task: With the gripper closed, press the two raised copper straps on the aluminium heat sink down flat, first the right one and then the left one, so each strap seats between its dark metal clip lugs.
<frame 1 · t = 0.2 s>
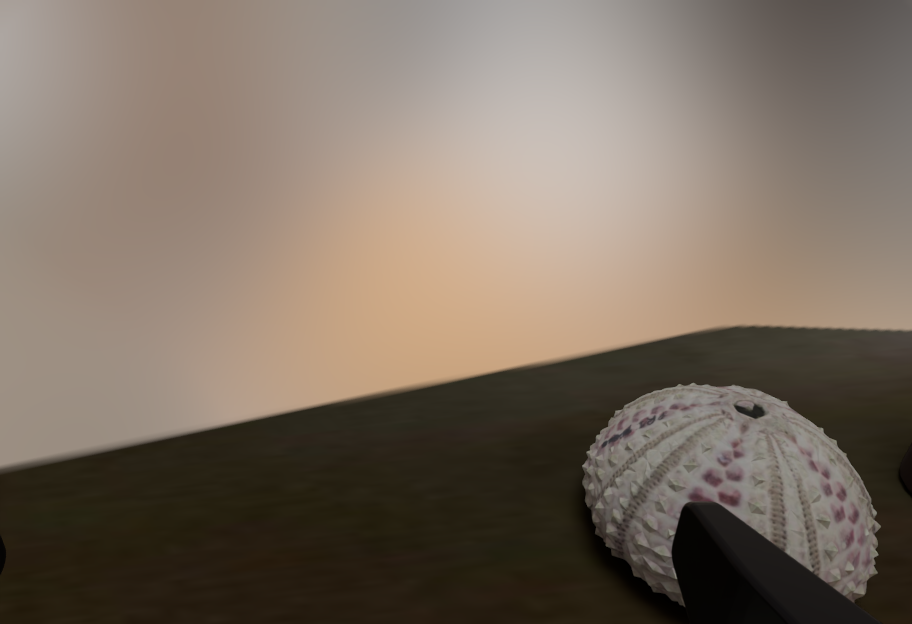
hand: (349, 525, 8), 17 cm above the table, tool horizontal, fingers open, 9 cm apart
sea urchin shell: (701, 537, 31), on the table
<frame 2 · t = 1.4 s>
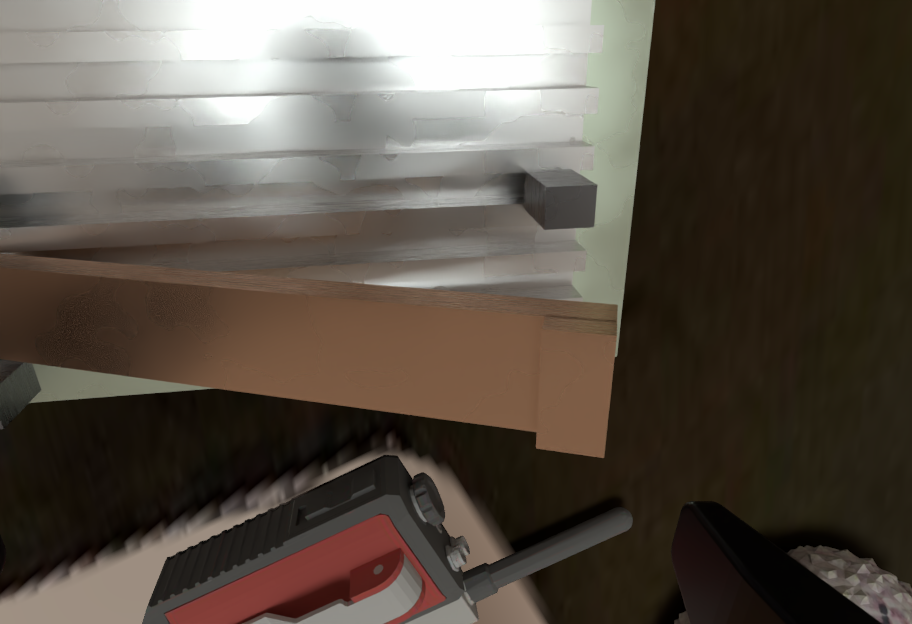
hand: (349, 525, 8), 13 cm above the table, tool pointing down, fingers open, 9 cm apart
heat sink board: (285, 45, 17), on the table
walkie-talkie: (388, 533, 26), on the table
sea urchin shell: (760, 615, 32), on the table
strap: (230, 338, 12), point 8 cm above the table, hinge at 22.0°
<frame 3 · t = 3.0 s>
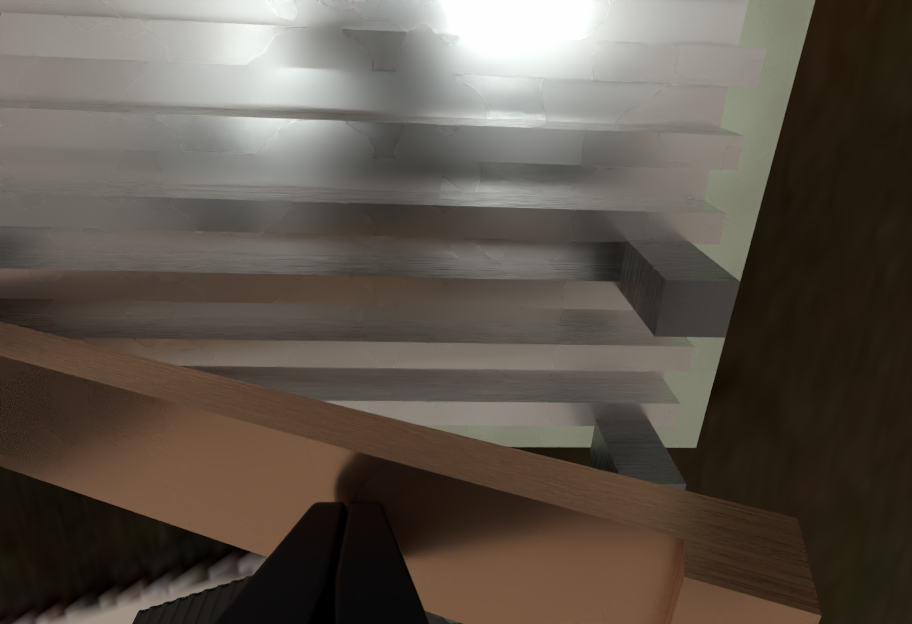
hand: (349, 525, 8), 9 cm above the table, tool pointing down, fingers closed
heat sink board: (321, 42, 14), on the table
walkie-talkie: (395, 609, 23), on the table
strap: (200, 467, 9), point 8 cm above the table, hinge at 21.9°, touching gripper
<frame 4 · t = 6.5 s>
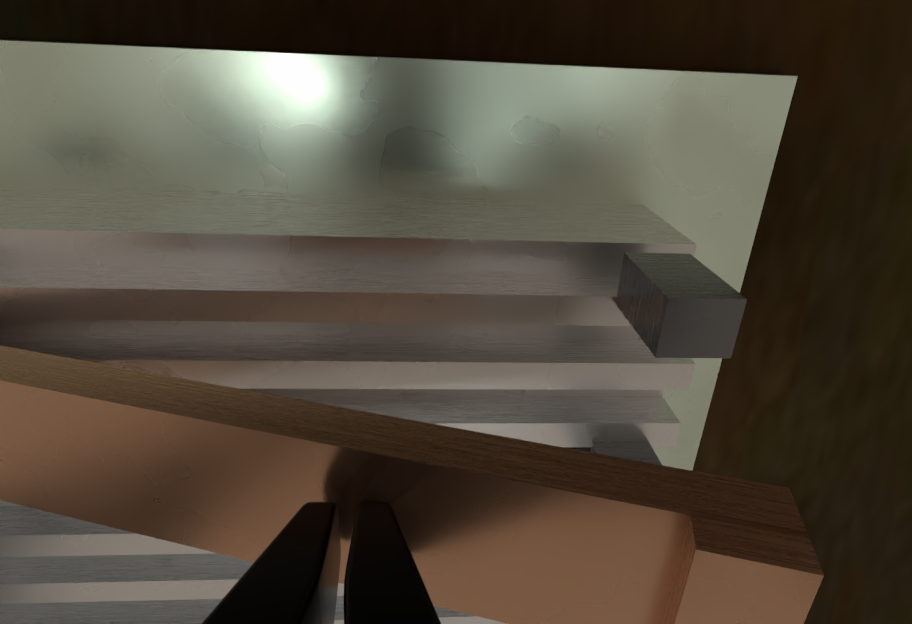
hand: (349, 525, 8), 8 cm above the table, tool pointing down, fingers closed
heat sink board: (326, 456, 18), on the table
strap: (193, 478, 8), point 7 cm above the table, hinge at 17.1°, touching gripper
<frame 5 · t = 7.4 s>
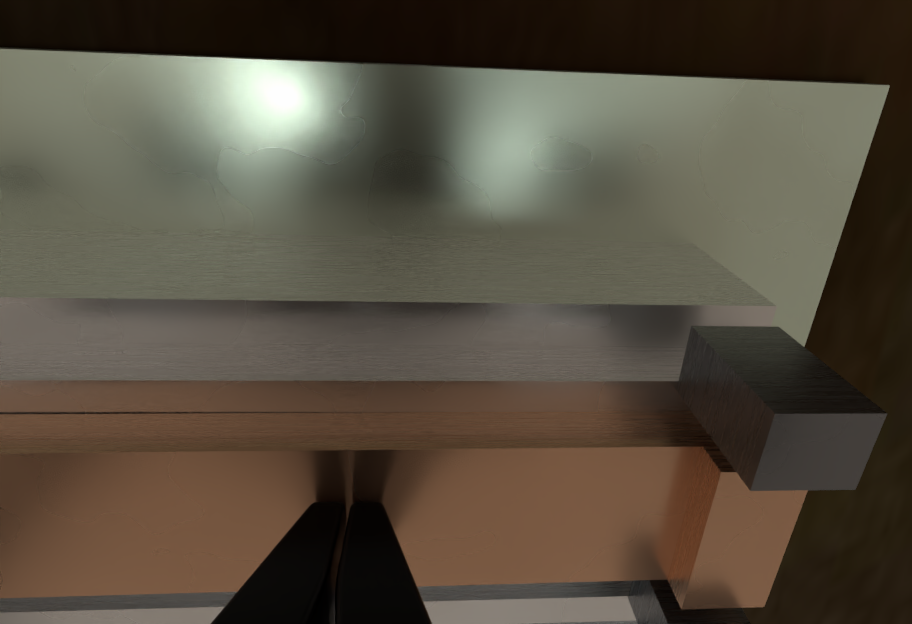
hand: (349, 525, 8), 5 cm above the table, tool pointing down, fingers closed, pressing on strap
heat sink board: (308, 532, 15), on the table
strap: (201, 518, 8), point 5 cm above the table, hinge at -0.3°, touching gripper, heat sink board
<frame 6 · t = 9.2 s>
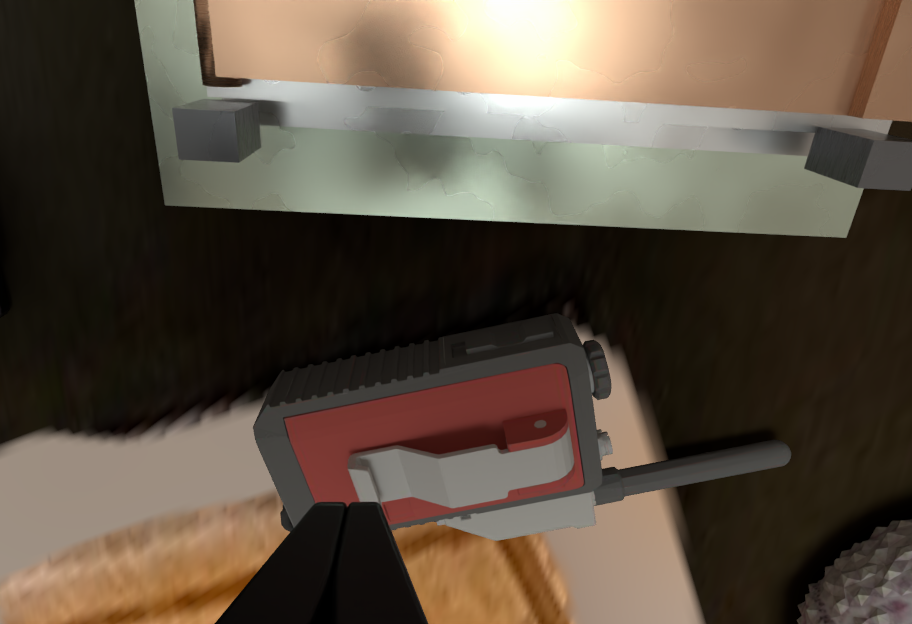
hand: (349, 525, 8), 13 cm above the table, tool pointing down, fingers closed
walkie-talkie: (518, 409, 24), on the table
sea urchin shell: (911, 579, 28), on the table
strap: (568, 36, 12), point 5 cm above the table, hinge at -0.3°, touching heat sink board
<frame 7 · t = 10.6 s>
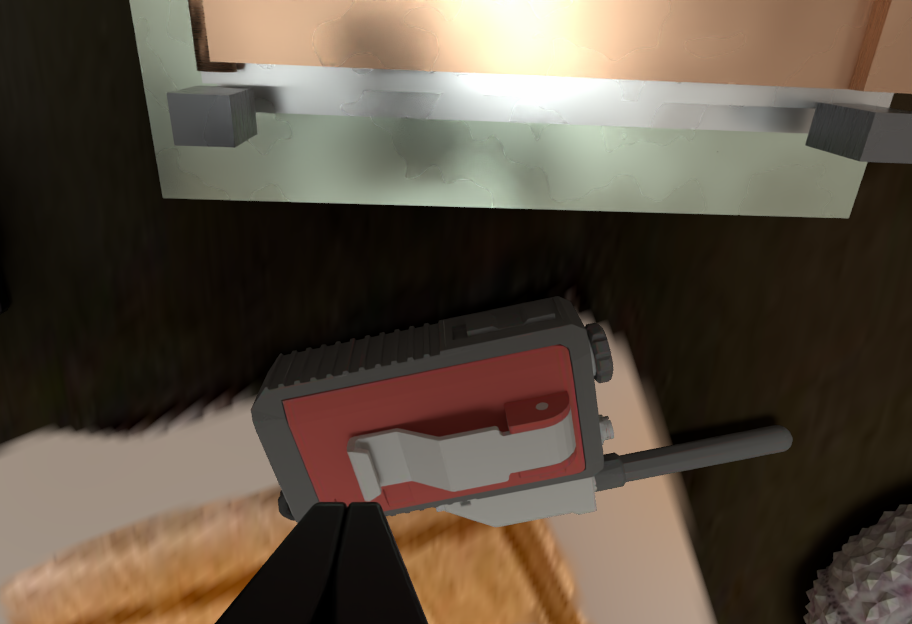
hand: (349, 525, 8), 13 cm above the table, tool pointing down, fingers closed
walkie-talkie: (518, 395, 23), on the table
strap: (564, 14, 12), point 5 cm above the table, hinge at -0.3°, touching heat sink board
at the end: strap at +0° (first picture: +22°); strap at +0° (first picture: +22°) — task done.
